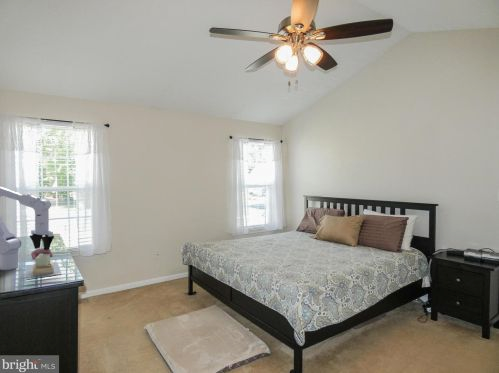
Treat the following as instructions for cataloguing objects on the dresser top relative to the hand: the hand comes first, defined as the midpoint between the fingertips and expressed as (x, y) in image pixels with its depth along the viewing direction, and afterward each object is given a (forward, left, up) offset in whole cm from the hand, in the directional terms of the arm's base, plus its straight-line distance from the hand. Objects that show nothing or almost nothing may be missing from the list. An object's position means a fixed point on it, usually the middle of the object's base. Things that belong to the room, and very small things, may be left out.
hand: (41, 249), depth 154 cm
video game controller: (-19, +16, -11) cm, 27 cm away
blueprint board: (+4, -3, -10) cm, 11 cm away
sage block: (+8, -6, -6) cm, 11 cm away
